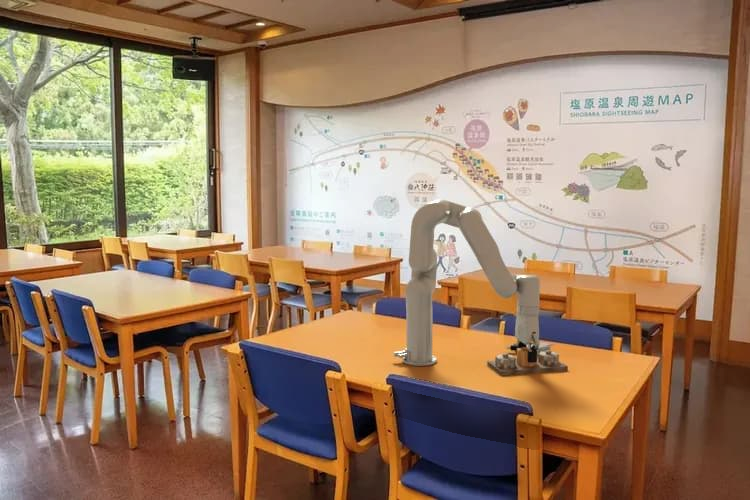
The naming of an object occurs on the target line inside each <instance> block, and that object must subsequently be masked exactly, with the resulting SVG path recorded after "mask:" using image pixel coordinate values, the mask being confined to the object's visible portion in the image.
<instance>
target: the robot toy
mask: <svg viewBox="0 0 750 500" xmlns="http://www.w3.org/2000/svg"><path fill="white" fill-rule="evenodd" d="M539 342H540V341H539ZM532 346H533V345H531V347H532ZM551 346H552V347H553V346H555V344H554V343H553V344H549V343H548V342H542V341H541V342H540V344H539V347H538V351H537V357H538V353H540V352H541V351H543V352H545V351H546V350H550V351H551V352H552V350H551ZM526 347H528V344H526ZM517 348H518V344H517V341H516V342H513V345H510V346H508V345H507V346H506V350H510V351H514V352H517Z"/></svg>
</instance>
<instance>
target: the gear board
mask: <svg viewBox="0 0 750 500" xmlns="http://www.w3.org/2000/svg"><path fill="white" fill-rule="evenodd" d="M550 350H551V349H550ZM550 350H546V351H545V352H543V351H541V352H540V353H538V356H537V365H536V366H535V365H534V366H532V367H529V366H522V365H518V364H517V356H514V355H512V354H509V353H505V352H504V353H502V354H499V353H498V354H496V355H495V357H494V358H495V359H494V360H488V361H486V365H487V366H488V368H490V369H492V370H493V371H494V372H495V373H497V374H498V375H500V376H512V375H525V374H537V373H550V372H563V371H565V370H566V371H569V370H568V369H569V367H568V365H567V364H565V363H564V362H562V361H560V354H559V353H557V352H555V351H552V350H551V351H550ZM566 371H565V372H566Z"/></svg>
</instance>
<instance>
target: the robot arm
mask: <svg viewBox="0 0 750 500" xmlns="http://www.w3.org/2000/svg"><path fill="white" fill-rule="evenodd" d="M440 224H445V225H448V226H452V227H454V228H458V229H459V230H460V232H461V234H462V236H463V237H464V239H465V240H466V242H467V244H468V246H469V248H470V249H471V251H472V253H473V254H474V256H475V258H476V260H477V262H478V264H479V265H480V267H481V269H482V270H483V272H484V274H485V276H486V278H487V280H488V281H489V283H490V285H491V287H492V289H493V290H494V292H495V293H496V294H497V295H498V296H499V297H501V298H503V299H510V298H513V296H514V295H516V294H517V295H516V296H517V299H516V300H517V302H516V317H515V325H514V326H515V328H514V337H515V339H517V341H516V342H517V344H518V348H521V347H526V344H528V348H529V351H528V362H529V363H533V362H537V357H538V356H537V351H538V347H539V344H540V340H539V339H540V338H539V337H540V327H539V325H540V322H539V315H540V291H541V290H540V288H541V281H540V280H541V279H540V277H539V276H538V275H535V274H515V273H511V272H510V270H509V269H508V268H507V266H506V264H505V262H504V260H503V257H502V255H501V253H500V252H501V251H500V249H499V246H498V244H497V241H495V239H494V237H493V235H492V234H491V232H490V231H489V229H488V227H487V225H486V223H485V221H483V216H482V214H481V212H480V211H479V210H477V209H476V208H473V207H470V206H467V205H462V204H459V203H457V202H456V203H455V202H452V201H449V200H445V199H436V200H432V201H429V202H428V203H426V204H424V205H422V206H421V207H420V208H418V210H417V211H416V212H415V213H414V215H413V218H412V220H411V226H410V237H409V238H410V239H409V253H408V264H409V267H410V269H411V275H410V276H411V277H410V278H411V279H410V280H409V281H408V282H407V284H406V287H405V291H404V292H405V293H404V295H405V306H406V307H405V308H406V309H405V310H406V312H405V313H406V319H405V320H406V347H404V349H403V350H401V351H393V356H394V358H398V359H402V360H401V361H402V362H403V363H404V364H406V365H409V366H413V367H414V366H415V367H423V366H425V367H426V366H432V365H434V364H436V363H437V361H438V360H437V359H438V358H437V357H436V356H434V355H433V322H434V321H433V294H434V292H435V289H436V286H437V268H438V255H437V252H436V250H435V249H434V242H435V229H436V227H437V225H440ZM531 345H533V346H532V347H531Z"/></svg>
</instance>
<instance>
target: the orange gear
mask: <svg viewBox="0 0 750 500" xmlns="http://www.w3.org/2000/svg"><path fill="white" fill-rule="evenodd" d="M528 351H529V348H528V347H521V348H517V351H516V359H517V364H518V365H522V366H529V367H532V366H534V365H535V366H536V365H537V362H533V363H529V362H528Z"/></svg>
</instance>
